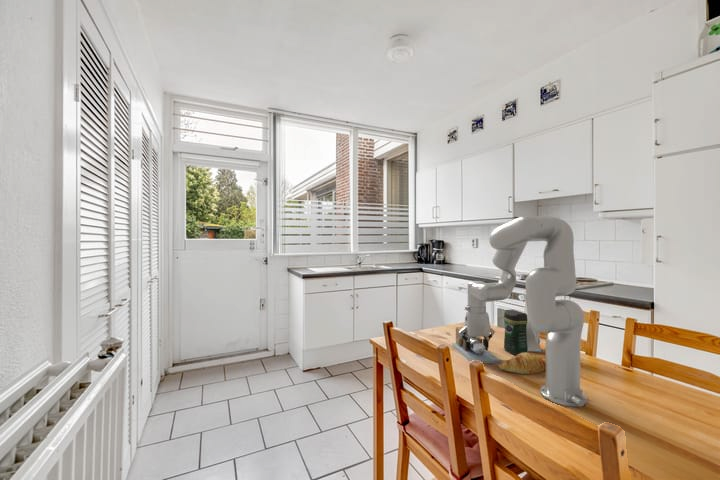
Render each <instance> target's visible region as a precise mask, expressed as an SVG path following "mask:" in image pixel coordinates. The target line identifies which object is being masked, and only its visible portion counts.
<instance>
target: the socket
mask: <svg viewBox="0 0 720 480" xmlns="http://www.w3.org/2000/svg"><path fill="white" fill-rule="evenodd" d="M462 328H464V326H459V327H458V326H457V327H455V343H456V344H457V345H458V346H462V344H463V342H462V337H461V335H460V334H459V333H458V332H459V331H460V330H461V329H462ZM463 334H466V333H465V332H464V333H463ZM473 338H475V339H476V340H477V337H473Z"/></svg>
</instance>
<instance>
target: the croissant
mask: <svg viewBox="0 0 720 480" xmlns="http://www.w3.org/2000/svg"><path fill="white" fill-rule="evenodd" d="M498 368H499V369H500V370H502V371H505V372H509V373H515V374H521V375H530V374H531V375H535V374H538V373H540V372H543V371H546V358H540V357H539V356H536V355H535V354H533V353H531V352H528V353H527V352H525V353H520V354H518V355H513V356H512V357H511V358H510V359H506V360H504V361H503V363H502V362H501V363H499V364H498Z"/></svg>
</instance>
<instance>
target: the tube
mask: <svg viewBox="0 0 720 480" xmlns="http://www.w3.org/2000/svg"><path fill="white" fill-rule="evenodd" d="M464 335H465V336H466V334H464ZM462 342H463V338H462ZM470 342H471V350H473V351H474V352H475V353H476V354H478V355H482V354H484V353H485V351H486V348H485V346H484V345H483V342H482V343H480V342H479V341H478V340H476V339H475V338H473V337H471V339H470Z"/></svg>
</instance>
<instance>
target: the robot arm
mask: <svg viewBox="0 0 720 480" xmlns="http://www.w3.org/2000/svg"><path fill="white" fill-rule="evenodd" d="M574 239H575V238H574V232H573V229H572V227H571V226H570V224H569V223H568V222H566V221H565V220H563V219H561V218H559V217H554V216H546V215H544V216H543V215H541V216H540V215H539V216H536V215H535V216H532V215H529V216H528V215H527V216H525V215H524V216H520V217H517V218H514V219H513V220H510V221H508V222H506V223H503V224H502V225H499V226H497V227H496V228H495V229H493V230H492V232H491V233H490V236H489V238H488V240H489V245H490V246H491V248H493V249H494V250H495V253H494V256H493V257H492V263H493V265H494V266H495V268H498V269H499V270H501V271H502V274H501V276H500V278H499V280H498V282H497V281H496V282H485V281H482V280H470V281H468V282H467V305H466V306H464V310H465V311H466V312H465V316H464V326H463V327H464V328H462V329H461V330H460V331H459V332H458V333H459V334H460V335H461V337H462V338H463V339H464V340H465V348H466V349H467V350H468V351H471V342H470V339H471V337H480V338H482V337H483V338H482V344H483V345H484V346H485V348H486V350H487V351H489V342H490V340H491V339H492V338H493V336H494V334H495V333H496V330H494V329H493V328H492V327H491V322H490V316H489V312H488V311H487V303H489V302H497V301H498V302H499V301H504V300H506V299H508V297H510V296H511V293H512V292H513V291H514V289H515V286H516V284H517V273H516V270H515V268H516V266H517V264H518V262H519V259H520V258H521V256H522V254H523V252H524V250H525V249H526V246H527V244H528V242H546V245H545V247H544V250H543V267H537V268H534V269H532V270H531V271H530V272H529V274H528V275H527V277H526V280H525V292H526V293H525V294H526V299H527V313H528V319H529V322H530V324H531V326H532V327H533V328H534V329H535V330H536V331H538V332H540V334H546V338H545V360H546V370H545V384H544V385H542V386H541V387H540V388H539V389H540V391H539V392H540V394H541V396H542V395H543V396H542V397H543V398H545V399H546V398H547V399H546V400H548V399H549V400H548V401H550V400H552V401H553V402H552V401H551V402H552V403H555V404H557V405H561V404H562V405H561V406H566V407H573V408H574V407H576V408H577V407H583V406H584V405H586V403H588V401H589V400H588V398H587V396H586V395H585V394H583V389H582V388H581V344H582V343H581V342H582V332H583V328H584V325H585V323H584V322H585V314H584V311H583V309H582V307H581V306H580V305H579V304H578V303H576V302H575V301H573V300H570V299H556V297H563V296H569V295H571V294H573V293H574V292H575V290H576V288H577V274H576V264H575V263H576V262H575V254H574ZM464 332H465V333H466V336H465V335H464V334H463V333H464Z"/></svg>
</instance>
